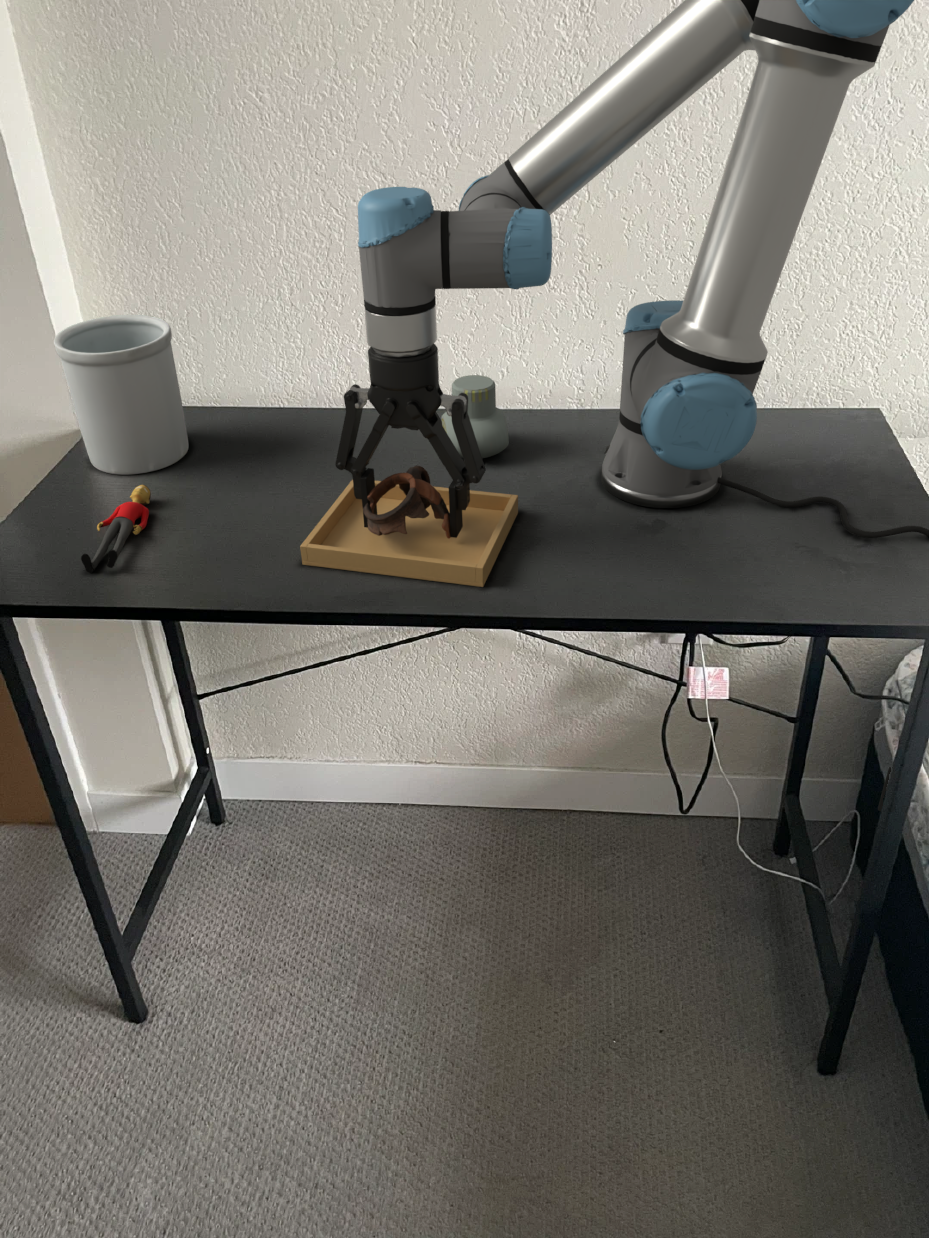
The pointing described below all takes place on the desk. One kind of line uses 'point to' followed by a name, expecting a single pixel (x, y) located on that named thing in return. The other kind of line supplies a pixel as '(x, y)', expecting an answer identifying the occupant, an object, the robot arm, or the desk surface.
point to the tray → (413, 539)
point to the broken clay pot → (406, 502)
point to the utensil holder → (125, 392)
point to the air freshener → (480, 415)
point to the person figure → (121, 527)
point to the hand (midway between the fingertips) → (413, 527)
